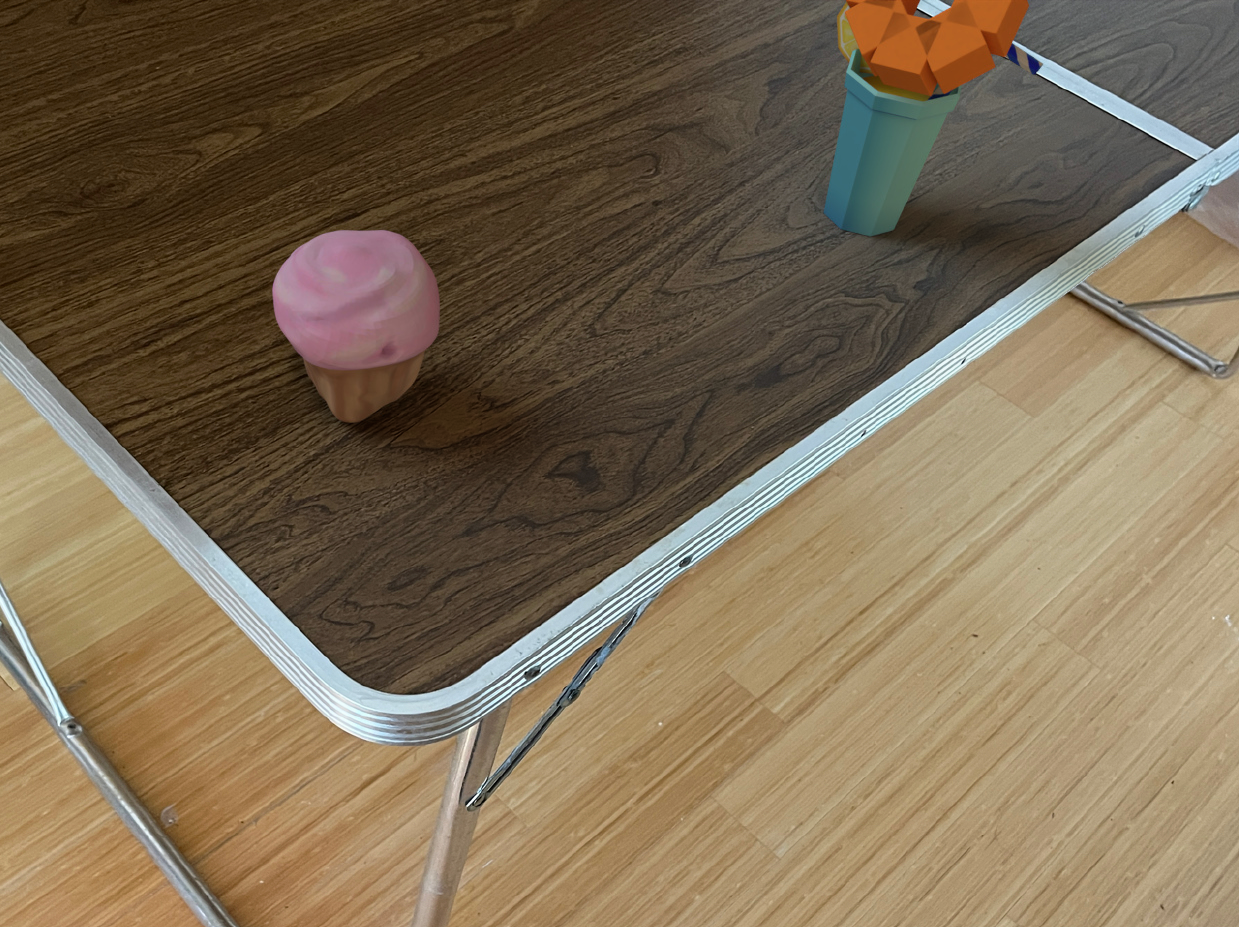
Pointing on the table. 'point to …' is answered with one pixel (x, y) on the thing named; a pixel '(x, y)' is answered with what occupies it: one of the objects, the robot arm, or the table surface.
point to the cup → (884, 140)
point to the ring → (933, 40)
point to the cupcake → (358, 316)
